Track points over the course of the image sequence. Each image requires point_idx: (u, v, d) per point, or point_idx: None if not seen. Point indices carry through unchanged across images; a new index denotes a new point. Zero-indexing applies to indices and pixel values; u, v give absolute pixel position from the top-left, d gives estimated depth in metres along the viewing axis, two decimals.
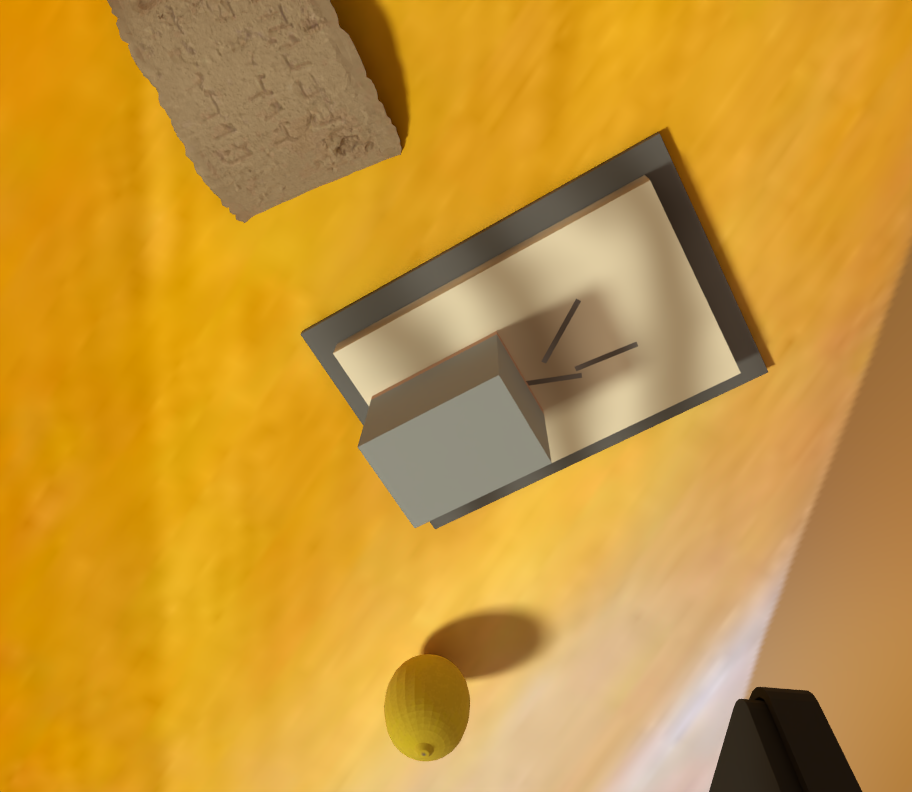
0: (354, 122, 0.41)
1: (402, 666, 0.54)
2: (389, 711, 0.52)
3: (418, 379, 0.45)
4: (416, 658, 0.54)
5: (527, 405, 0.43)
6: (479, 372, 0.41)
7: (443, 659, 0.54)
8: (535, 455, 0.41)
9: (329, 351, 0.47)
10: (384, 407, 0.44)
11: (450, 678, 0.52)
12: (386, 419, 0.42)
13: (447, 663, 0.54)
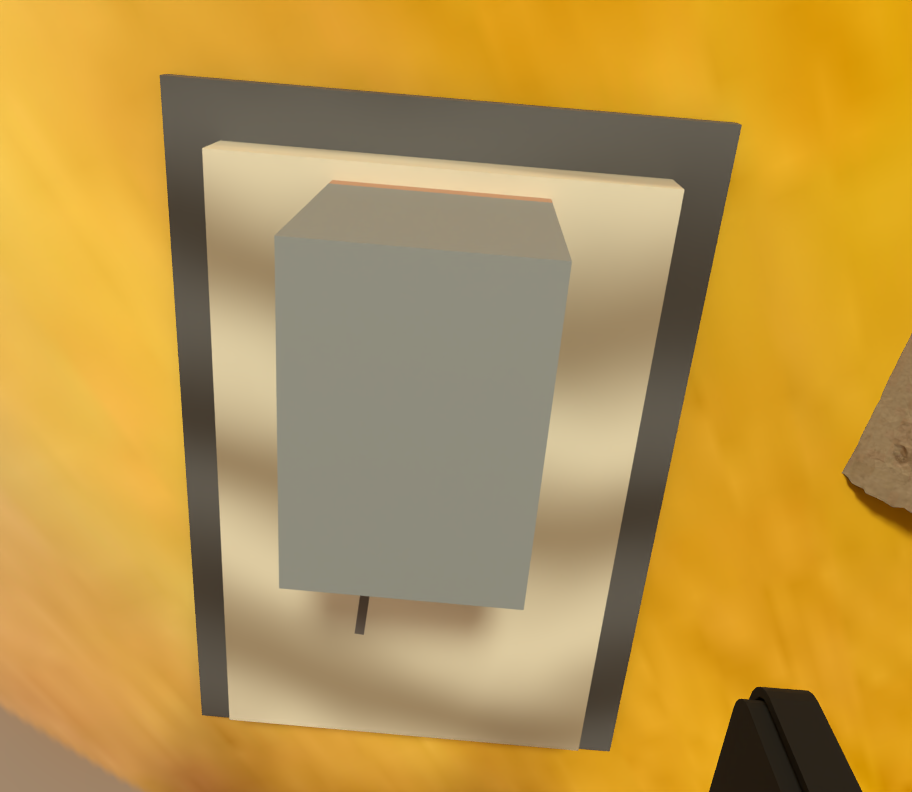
0: None
1: None
2: None
3: None
4: None
5: None
6: None
7: None
8: (314, 573, 0.18)
9: (670, 153, 0.22)
10: None
11: None
12: None
13: None
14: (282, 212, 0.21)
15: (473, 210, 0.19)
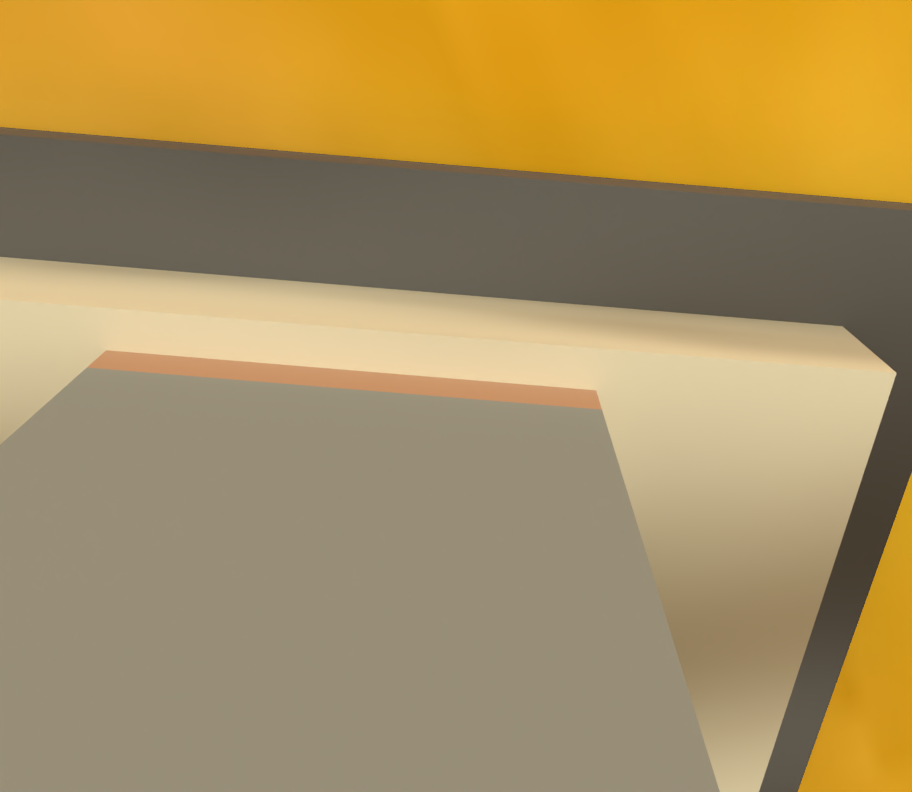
0: None
1: None
2: None
3: None
4: None
5: None
6: None
7: None
8: None
9: (842, 275, 0.10)
10: None
11: None
12: None
13: None
14: (6, 414, 0.10)
15: (411, 478, 0.07)
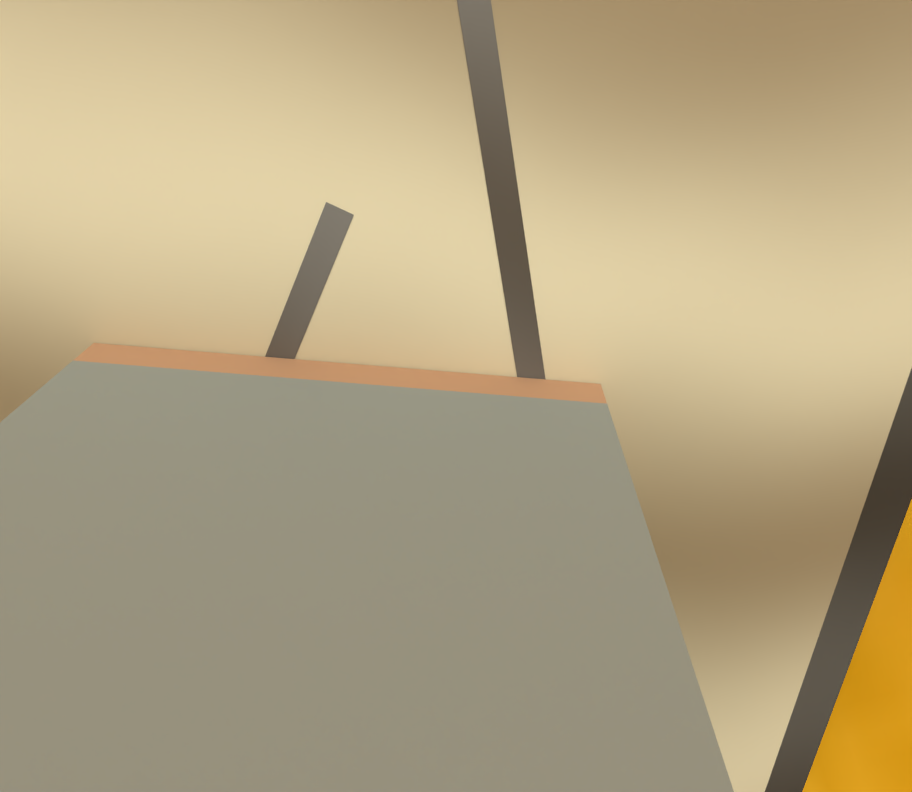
0: None
1: None
2: None
3: None
4: None
5: None
6: None
7: None
8: None
9: None
10: None
11: None
12: None
13: None
14: None
15: (409, 474, 0.07)
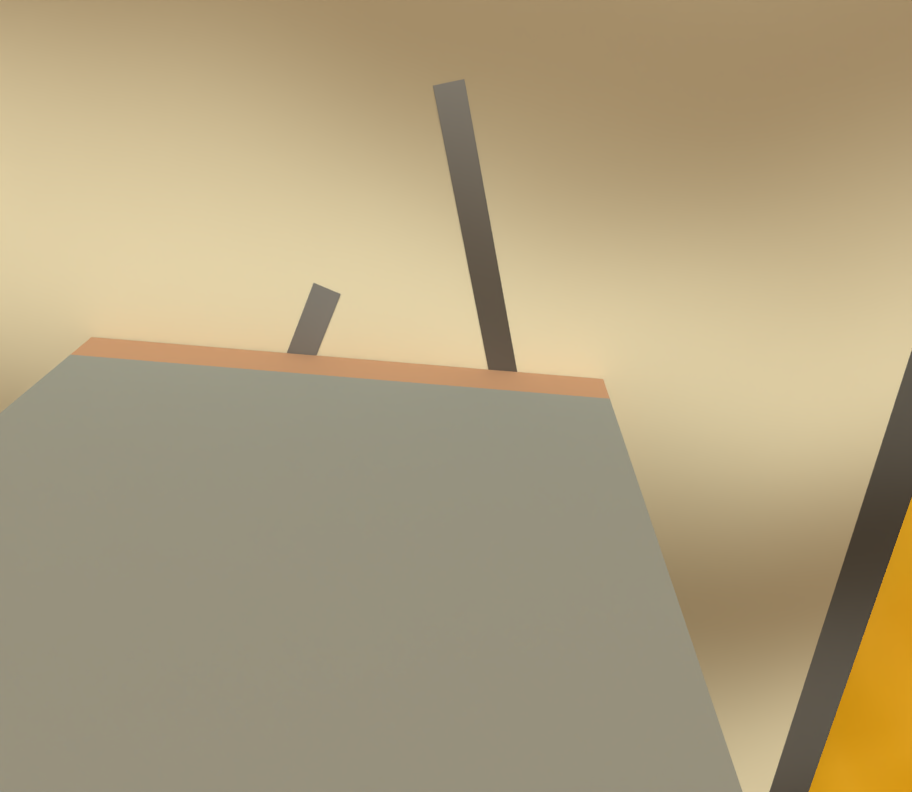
0: None
1: None
2: None
3: None
4: None
5: None
6: None
7: None
8: None
9: None
10: None
11: None
12: None
13: None
14: None
15: (410, 469, 0.07)
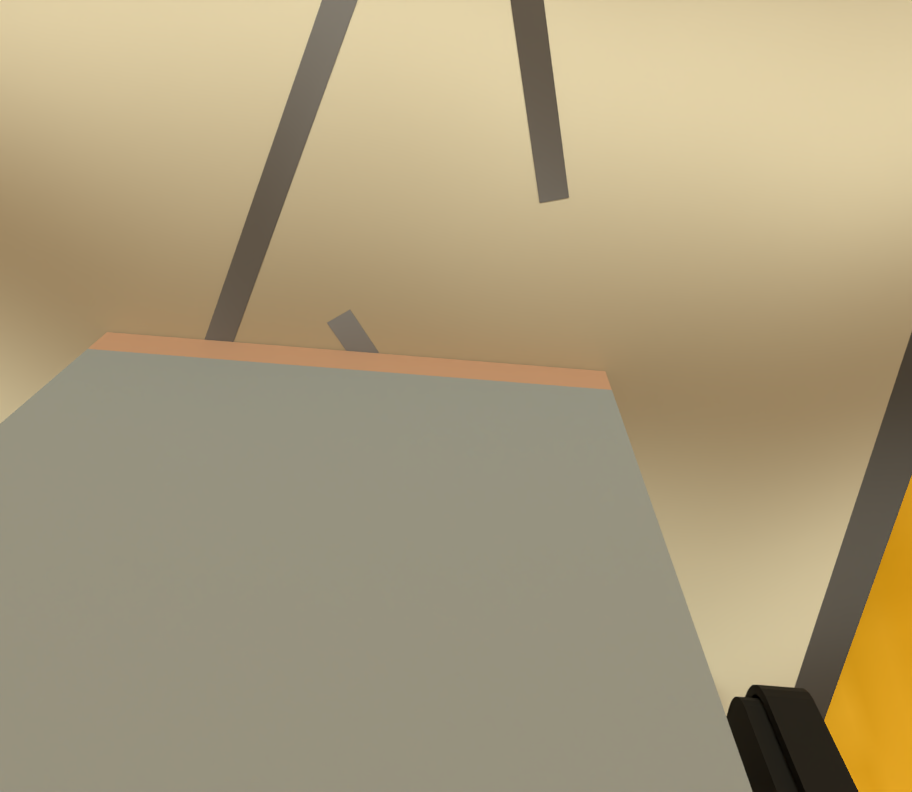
0: None
1: None
2: None
3: None
4: None
5: None
6: None
7: None
8: None
9: None
10: None
11: None
12: None
13: None
14: None
15: (419, 456, 0.07)
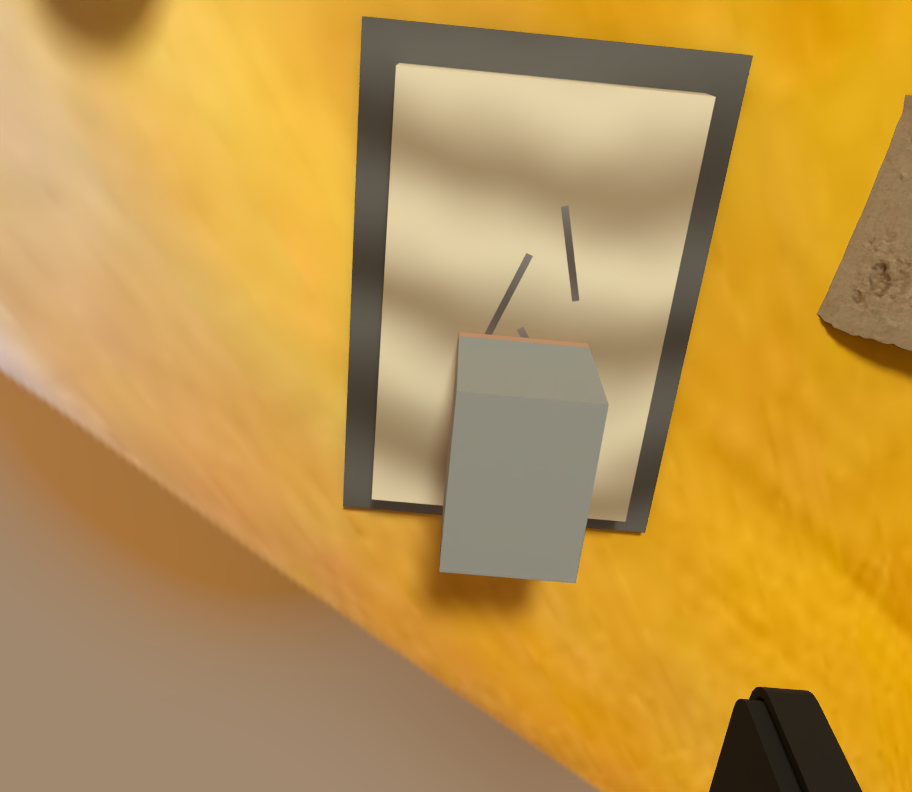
0: (895, 307, 0.35)
1: None
2: None
3: None
4: None
5: None
6: None
7: None
8: (459, 563, 0.33)
9: (704, 75, 0.32)
10: None
11: None
12: None
13: None
14: (446, 110, 0.31)
15: (547, 359, 0.33)
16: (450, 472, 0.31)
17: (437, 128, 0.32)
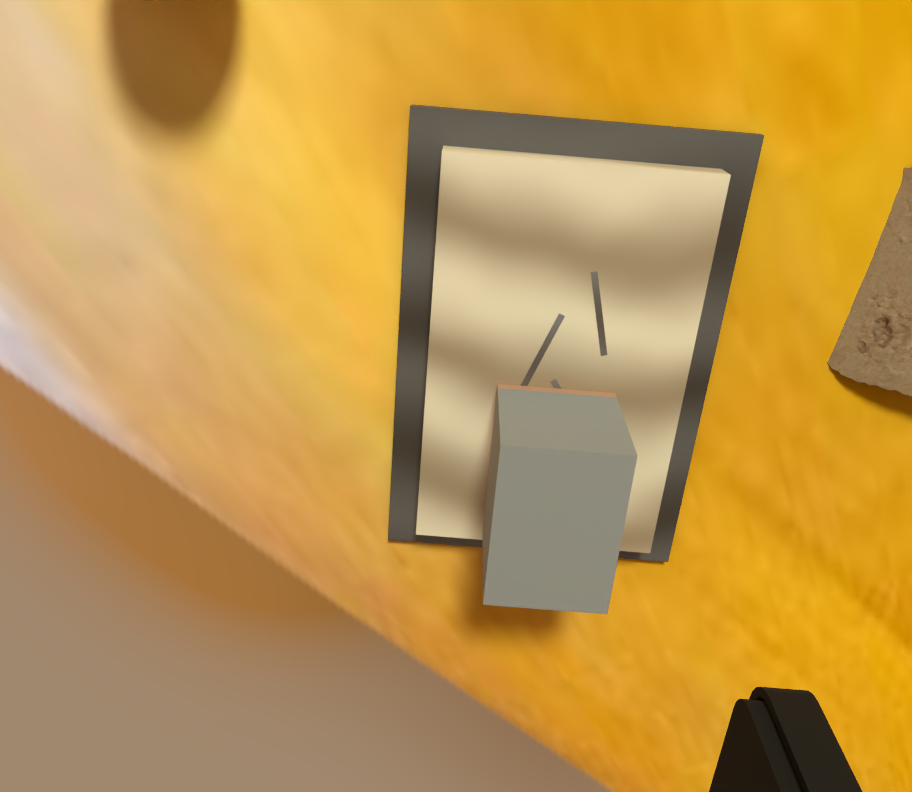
0: (897, 357, 0.38)
1: None
2: None
3: None
4: None
5: None
6: None
7: None
8: (501, 597, 0.36)
9: (720, 152, 0.35)
10: None
11: None
12: None
13: None
14: (486, 189, 0.35)
15: (579, 410, 0.36)
16: (494, 516, 0.34)
17: (478, 205, 0.35)
